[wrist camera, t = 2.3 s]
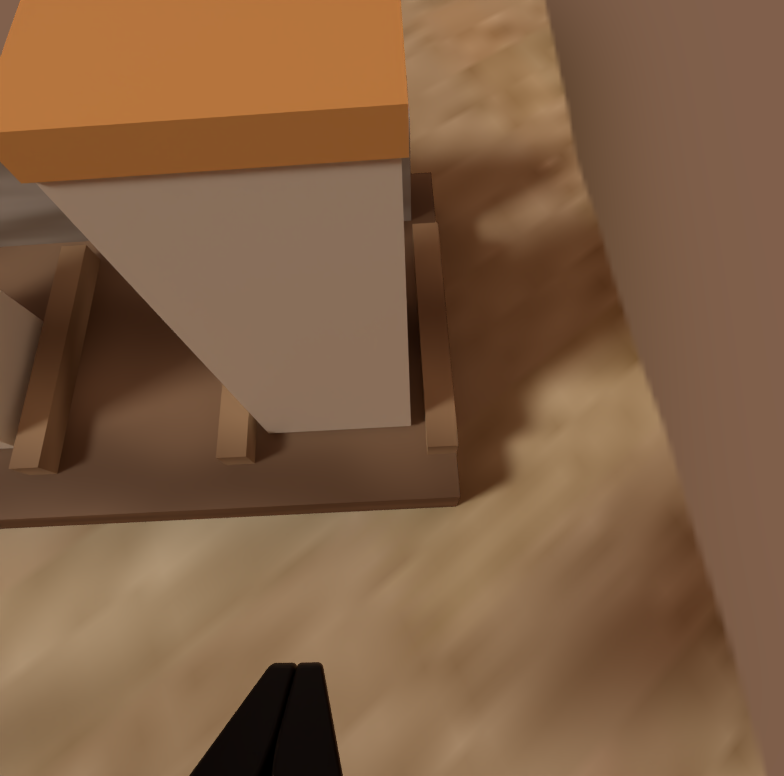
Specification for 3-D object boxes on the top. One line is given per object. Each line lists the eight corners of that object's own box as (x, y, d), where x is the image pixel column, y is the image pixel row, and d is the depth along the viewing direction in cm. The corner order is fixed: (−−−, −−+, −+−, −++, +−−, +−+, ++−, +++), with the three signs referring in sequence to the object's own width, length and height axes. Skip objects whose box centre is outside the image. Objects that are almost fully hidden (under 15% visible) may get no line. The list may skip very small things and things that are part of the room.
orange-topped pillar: (413, 428, 18) (408, 102, 6) (265, 436, 18) (-27, 133, 6) (406, 299, 20) (390, -140, 8) (272, 307, 20) (59, -113, 8)
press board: (456, 506, 19) (478, 456, 12) (-123, 534, 20) (-421, 502, 13) (430, 204, 24) (435, 47, 17) (-27, 234, 25) (-201, 94, 18)
